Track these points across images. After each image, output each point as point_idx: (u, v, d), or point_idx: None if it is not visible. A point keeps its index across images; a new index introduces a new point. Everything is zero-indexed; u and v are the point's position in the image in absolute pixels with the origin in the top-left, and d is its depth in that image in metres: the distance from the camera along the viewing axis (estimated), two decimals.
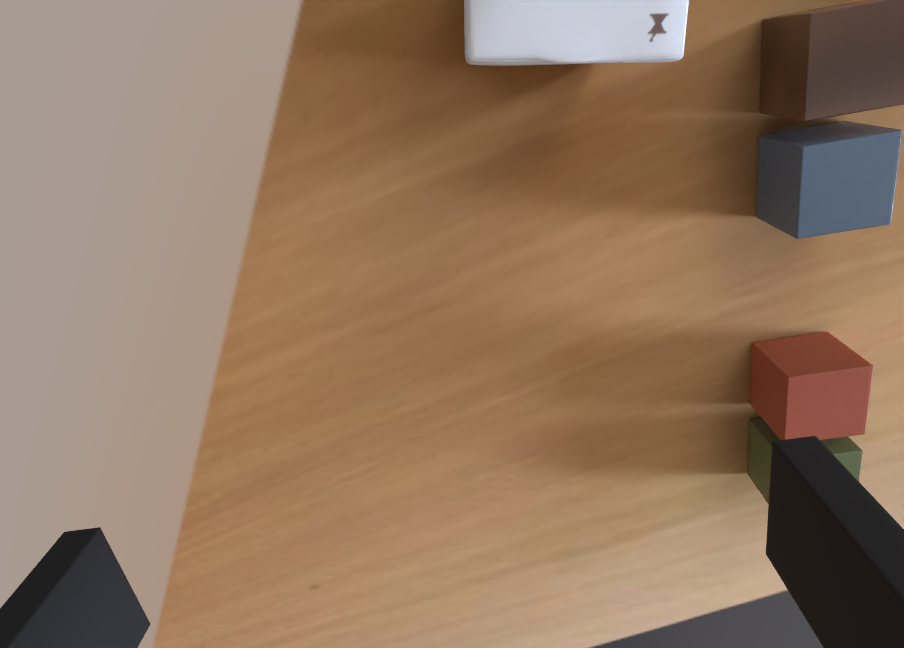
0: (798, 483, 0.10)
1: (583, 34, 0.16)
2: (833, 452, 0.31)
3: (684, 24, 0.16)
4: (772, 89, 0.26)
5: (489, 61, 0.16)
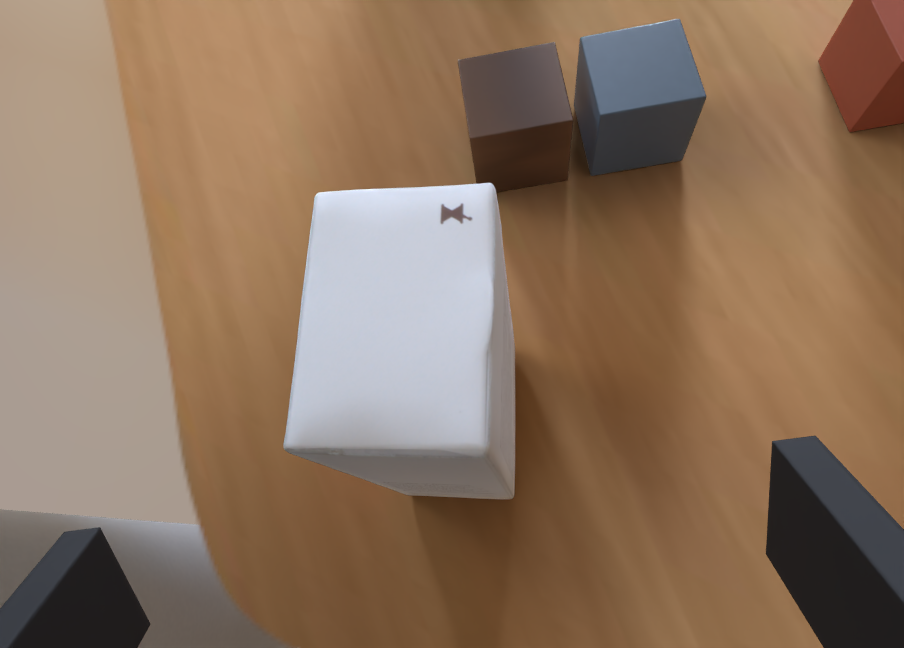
0: (798, 483, 0.10)
1: (458, 297, 0.12)
2: None
3: (454, 185, 0.13)
4: (543, 168, 0.25)
5: (488, 422, 0.11)
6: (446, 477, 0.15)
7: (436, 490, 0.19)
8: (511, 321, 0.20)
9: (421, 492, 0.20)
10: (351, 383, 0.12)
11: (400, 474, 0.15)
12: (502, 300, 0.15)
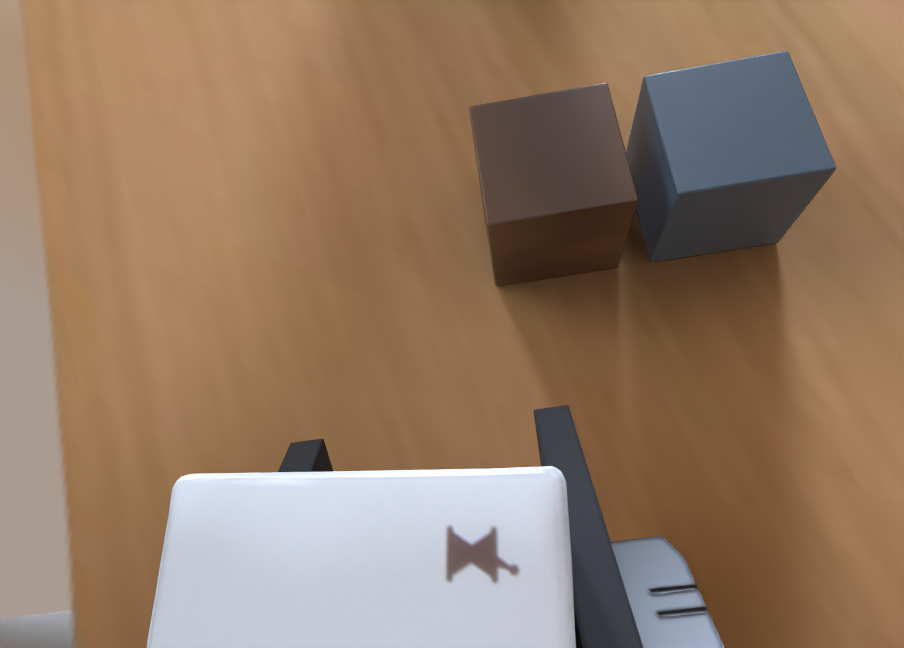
0: (540, 442, 0.12)
1: None
2: None
3: (475, 476, 0.06)
4: (587, 256, 0.18)
5: None
6: None
7: None
8: None
9: None
10: None
11: None
12: None
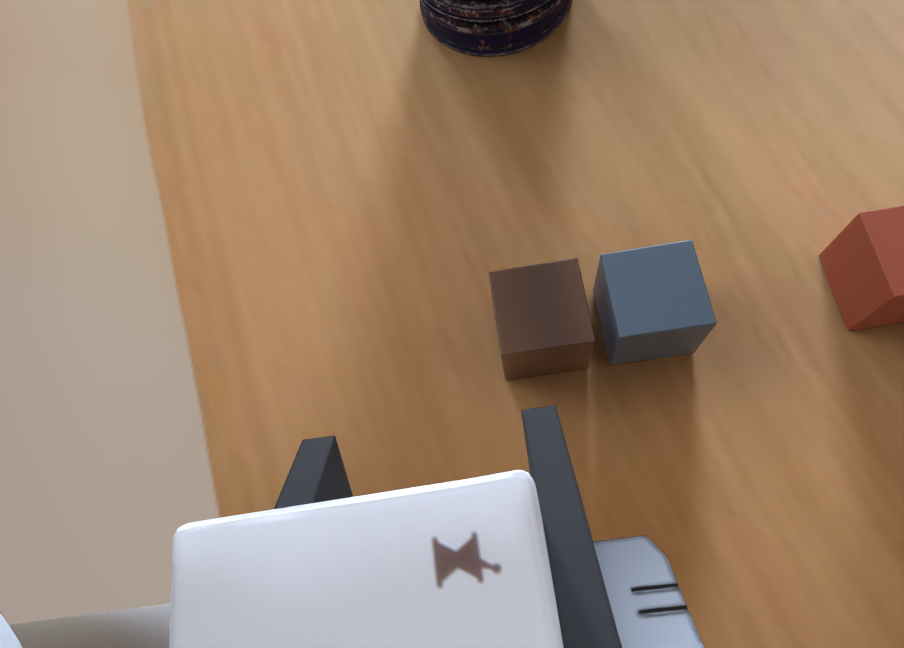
0: (526, 442, 0.12)
1: None
2: None
3: (451, 489, 0.06)
4: (566, 364, 0.28)
5: None
6: None
7: None
8: None
9: None
10: None
11: None
12: None
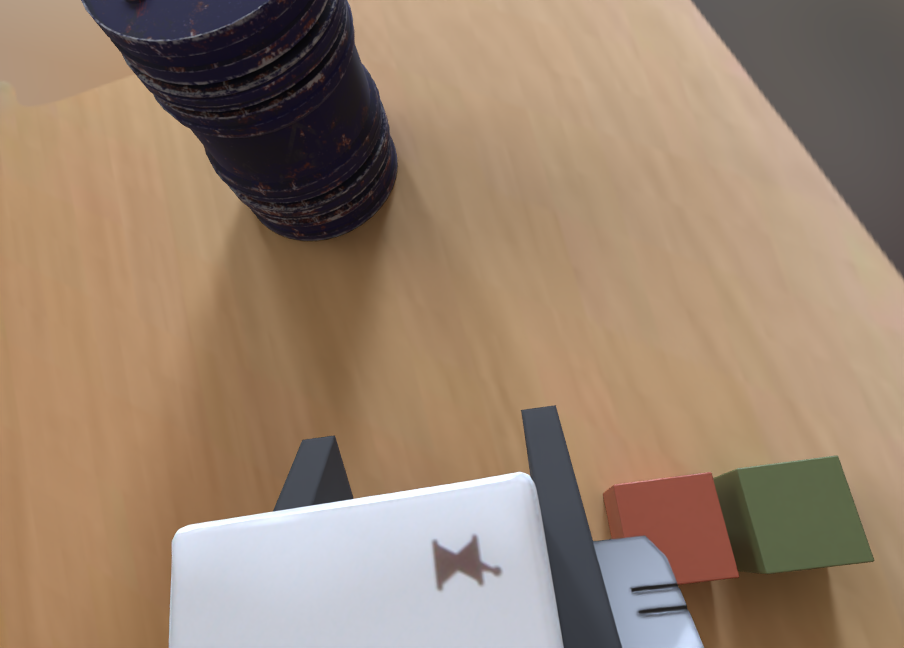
0: (526, 442, 0.12)
1: None
2: (745, 504, 0.24)
3: (452, 491, 0.06)
4: None
5: None
6: None
7: None
8: None
9: None
10: None
11: None
12: None
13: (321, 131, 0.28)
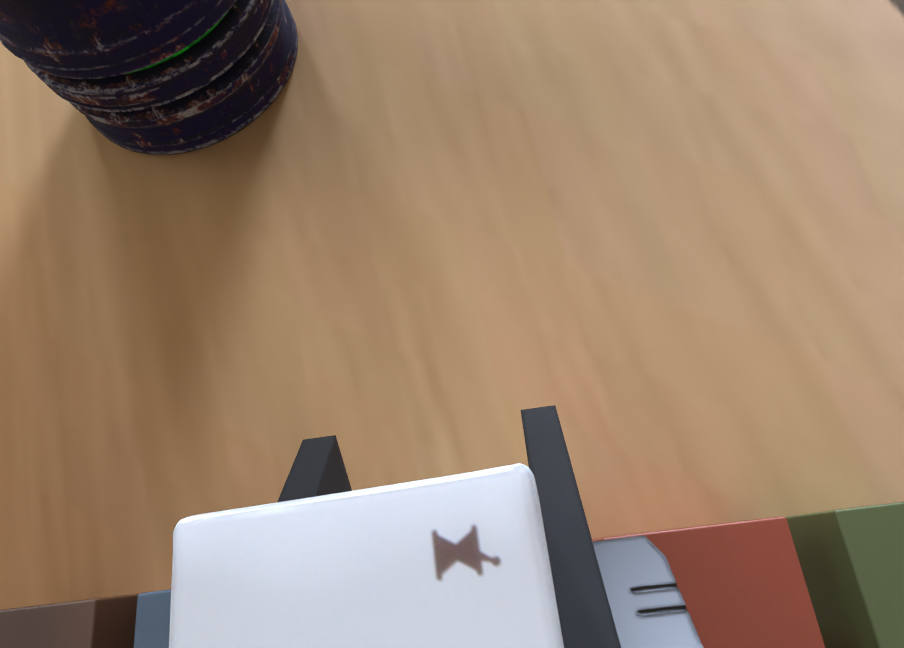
0: None
1: None
2: (853, 579, 0.13)
3: (451, 482, 0.06)
4: None
5: None
6: None
7: None
8: None
9: None
10: None
11: None
12: None
13: None
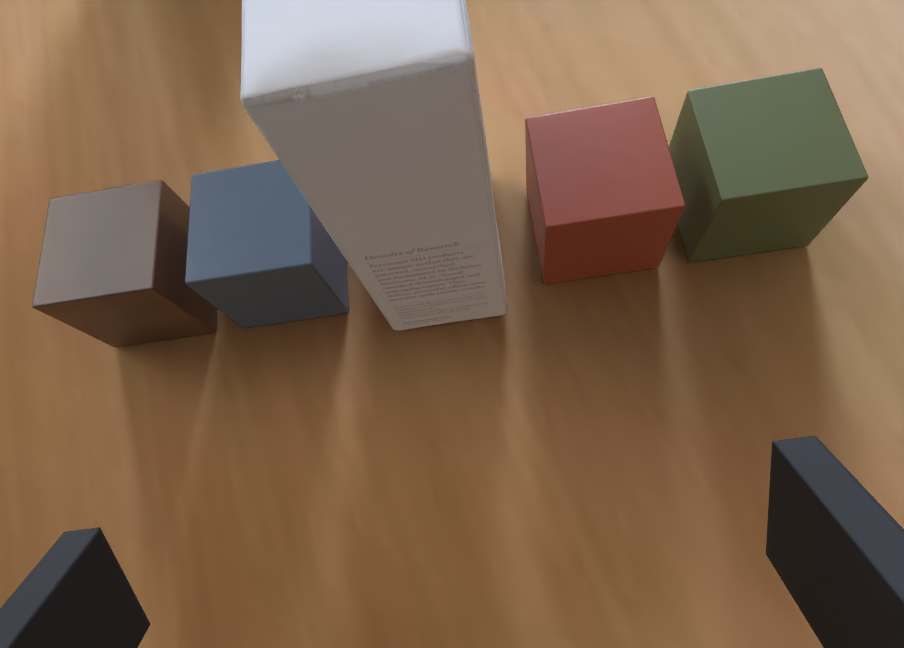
0: (799, 482, 0.10)
1: None
2: (697, 129, 0.18)
3: None
4: (169, 325, 0.21)
5: (467, 32, 0.10)
6: (431, 203, 0.14)
7: (424, 286, 0.18)
8: None
9: (408, 303, 0.19)
10: (308, 24, 0.10)
11: (380, 200, 0.13)
12: None
13: None
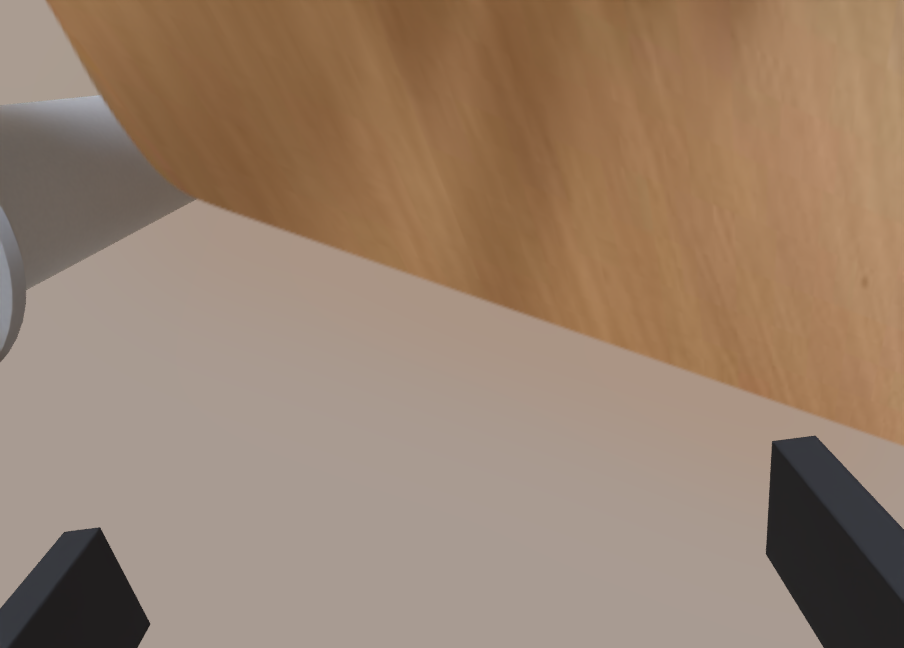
0: (798, 483, 0.10)
1: None
2: None
3: None
4: None
5: None
6: None
7: None
8: None
9: None
10: None
11: None
12: None
13: None
